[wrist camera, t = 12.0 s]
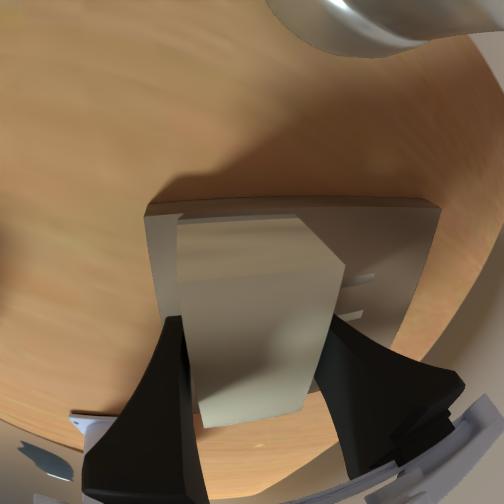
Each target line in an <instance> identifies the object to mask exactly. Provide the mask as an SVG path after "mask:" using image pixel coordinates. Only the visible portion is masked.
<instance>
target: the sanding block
mask: <svg viewBox="0 0 504 504" xmlns="http://www.w3.org/2000/svg"><path fill="white" fill-rule="evenodd" d="M344 270H345V264H344V263H343V262H342V261H341V260H340V259H339V258H338V257H337V256H336V255H335V254H334V253H333V252H332V251H331V250H330V249H329V248H328V247H327V246H326V245H325V244H324V243H323V242H322V241H321V240H320V239H319V237H318V236H317V235H316V234H315V233H314V232H313V231H312V230H311V229H310V228H309V227H308V226H306V225H305V224H304V223H303V222H302V221H301V220H300V219H299V218H298V217H297V216H296V215H295V214H270V215H248V216H229V217H212V218H196V219H182V220H177V287H178V295H179V302H180V308H181V315H182V321H183V328H184V334H185V339H186V345H187V351H188V356H189V361H190V367H191V372H192V377H193V381H194V386H195V391H196V395H197V400H198V404H199V408H200V413H201V417H202V421H203V425H204V428H211V427H219V426H227V425H234V424H240V423H246V422H252V421H257V420H262V419H267V418H272V417H277V416H281V415H286V414H290V413H294V412H298V411H301V409H302V407H303V404H304V401H305V399H306V396H307V393H308V390H309V388H310V385H311V382H312V379H313V376H314V373H315V371H316V368H317V365H318V362H319V359H320V355H321V352H322V349H323V346H324V343H325V340H326V336H327V333H328V330H329V326H330V323H331V319H332V316H333V312H334V309H335V305H336V301H337V298H338V294H339V290H340V286H341V282H342V278H343V274H344Z"/></svg>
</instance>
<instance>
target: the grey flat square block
mask: <svg viewBox="0 0 504 504" xmlns="http://www.w3.org/2000/svg"><path fill="white" fill-rule="evenodd" d="M440 212H441V208H440V207H438V206H436V205H434V204H433V203H431V202H429V201H427V200H425V199H413V198H392V197H362V196H275V197H244V198H222V199H204V200H189V201H175V202H163V203H151V204H148V206H147V209H146V212H145V215H144V223H145V231H146V238H147V245H148V252H149V258H150V264H151V270H152V276H153V281H154V287H155V292H156V297H157V302H158V307H159V312H160V316H161V321H162V325H163V326H164V322H165V318H166V317H167V316H178V315H181V308H180V302H179V295H178V287H177V220H182V219H196V218H212V217H229V216H248V215H270V214H295V215H296V216H297V217H298V218H299V219H300V220H301V221H302V222H303V223H304V224H305V225H306V226H308V227H309V228H310V229H311V230H312V231H313V232H314V233H315V234H316V235H317V236H318V237H319V239H320V240H321V241H322V242H323V243H324V244H325V245H326V246H327V247H328V248H329V249H330V250H331V251H332V252H333V253H334V254H335V255H336V256H337V257H338V258H339V259H340V260H341V261H342V262H343V263H344V264H345V270H344V274H343V278H342V282H341V286H340V290H339V294H338V298H337V301H336V305H335V309H334V312H333V313H334V314H335V315H337V316H338V317H339V318H341V319H342V320H344V321H345V322H346V323H348V324H349V325H350V326H352V327H353V328H355V329H356V330H358V331H359V332H361V333H362V334H364V335H365V336H367V337H369V338H370V339H372V340H373V341H375V342H377V343H379V344H380V345H382V346H384V347H386V348H388V349H389V348H390V346H391V344H392V342H393V340H394V338H395V336H396V334H397V332H398V330H399V328H400V326H401V323H402V321H403V319H404V317H405V314H406V312H407V310H408V307H409V305H410V303H411V300H412V298H413V295H414V293H415V290H416V288H417V285H418V282H419V280H420V277H421V274H422V272H423V269H424V266H425V263H426V260H427V257H428V254H429V251H430V248H431V244H432V241H433V238H434V234H435V231H436V227H437V224H438V220H439V216H440ZM191 386H192V414H195V413H200V408H199V404H198V400H197V395H196V391H195V386H194V381H193V377H192V372H191ZM317 391H320V389H319V387H318V385H317V383H316V381H315V379H314V377H313V379H312V382H311V385H310V388H309V390H308V393H307V394H309V393H313V392H317Z"/></svg>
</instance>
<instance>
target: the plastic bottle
mask: <svg viewBox="0 0 504 504" xmlns="http://www.w3.org/2000/svg"><path fill="white" fill-rule="evenodd" d="M265 1H266V3H267V4H268V6H269V7H270V9H271V10H272V12H273V13H274V15H275V16H276V17H277V18H278V19H279V20H280V21H281V22H282V24H283V25H284V26H285V27H286V28H287V29H289V30H290V31H291V32H292V33H294V34H295V35H296V36H297V37H298V38H300V39H302V40H303V41H305V42H306V43H308V44H310V45H311V46H313V47H316V48H318V49H320V50H322V51H324V52H327V53H331V54H334V55H337V56H345V57H356V58H370V59H373V58H385V57H388V56H391V55H394V54H397V53H400V52H404V51H407V50H410V49H414V48H416V47H419V46H421V45H423V44H426V43H428V42H430V41H431V40H434V39H439V38H445V37H450V36H457V35H464V34H472V33H481V32H493V31H504V0H265Z"/></svg>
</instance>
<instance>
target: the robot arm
mask: <svg viewBox="0 0 504 504" xmlns="http://www.w3.org/2000/svg"><path fill="white" fill-rule="evenodd" d="M313 377H314V379H315V381H316V383H317V385H318V387H319V389H320V391H321V393H322V395H323V397H324V399H325V401H326V404H327V406H328V409H329V412H330V414H331V417H332V420H333V423H334V426H335V429H336V432H337V435H338V438H339V442H340V445H341V449H342V452H343V456H344V460H345V465H346V469H347V474H348V477H349V479H350V481H348V482H346V483H343V484H341V485H338V486H335V487H333V488H330V489H327V490H325V491H322V492H319V493H316V494H313V495H309V496H306V497H303V498H300V499H296V500H293V501H289V502H285V503H281V504H334V503H337V502H339V501H342V500H344V499H347V498H349V497H351V496H354V495H356V494H358V493H360V492H362V491H365V490H367V489H369V488H371V487H373V486H375V485H377V484H379V483H381V482H383V481H385V480H387V479H388V478H391V477H392V476H394V475H396V474H398V473H399V474H398V476H397V479H396V480H395V481H393V482H391V483H389V484H388V485H386V486H384V487H382V488H380V489H379V490H377V491H375V492H373V493H371V494H369V495H367V496H365V498H364V499H365V501H366V503H367V504H437V503H438V502H440V501H441V500H442V499H443V498H444V497H445V496H446V495H447V494H448V493H449V492H450V491H451V490H453V488H454V487H456V486H457V485H458V484H459V483H460V481H461V480H462V479H463V478H464V477H465V476H466V475H467V474H468V473H469V472H470V471H471V470H472V469H473V468H474V466H475V465H476V464H477V463H478V462H479V461H480V460H481V458H482V457H483V456H484V455H485V454H486V452H487V451H488V450H489V449H490V447H491V446H492V445H493V444H494V442H495V441H496V440H497V439H498V438H499V437H500V435H501V434H502V433H503V432H504V418H503V416H502V415H501V413H500V412H499V411H498V409H497V408H496V406H495V405H494V404H493V402H492V401H491V400H490V398H489V397H488V396H487V395H486V394H483V395H482V396H481V397H480V398H479V399H478V400H476V401H475V402H474V403H473V404H472V405H471V406H470V407H469V408H468V409H467V410H466V411H465V412H464V413H463V415H461V416H460V417H459V418H457V419H456V420H455V421H453V422H451V421H450V420H449V418H448V417H449V416H450V415H451V413H450V411H449V410H448V408H449V407H450V406H451V405H452V404H453V403H454V401H455V400H456V399H457V398H458V397H459V396H460V394H461V393H462V392H463V391H464V389H465V383H464V382H463V381H462V379H461V378H460V377H459V376H458V374H457V373H456V372H455V371H452V370H448V369H443V368H438V367H434V366H431V365H428V364H424V363H421V362H418V361H415V360H413V359H410V358H408V357H405V356H403V355H401V354H398V353H396V352H394V351H392V350H390V349H388V348H386V347H384V346H382V345H380V344H379V343H377V342H375V341H373V340H372V339H370V338H369V337H367V336H365V335H364V334H362V333H361V332H359V331H358V330H356V329H355V328H353V327H352V326H350V325H349V324H348V323H346V322H345V321H344V320H342V319H341V318H339V317H338V316H337V315H335V314H334V313H333V316H332V319H331V323H330V326H329V330H328V333H327V336H326V340H325V343H324V346H323V349H322V352H321V355H320V359H319V362H318V365H317V368H316V371H315V373H314V376H313ZM69 420H70V421H71V422H72V423H73V424H74V425H75V426H76V427H77V428H78V429H79V430H80V431H81V432H82V433H83V434H84V435H85V440H84V456H83V467H82V492H83V504H210V503H209V499H208V495H207V491H206V487H205V483H204V478H203V474H202V469H201V465H200V460H199V455H198V449H197V444H196V438H195V432H194V426H193V414H192V386H191V367H190V361H189V356H188V351H187V345H186V339H185V334H184V328H183V321H182V315H178V316H167V317H166V318H165V322H164V326H163V329H162V332H161V335H160V338H159V341H158V344H157V346H156V348H155V351H154V353H153V356H152V358H151V361H150V363H149V365H148V367H147V369H146V371H145V373H144V375H143V377H142V379H141V381H140V383H139V385H138V387H137V388H136V390H135V392H134V393H133V395H132V397H131V398H130V400H129V401H128V403H127V404H126V406H125V408H124V409H123V410H122V412H121V413H120V415H119V416H118V417H105V416H89V415H77V414H69ZM34 504H68V503H66V502H63V501H60V500H57V499H53V498H49V497H46V496H43V495H40V494H37V493H35V494H34Z"/></svg>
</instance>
